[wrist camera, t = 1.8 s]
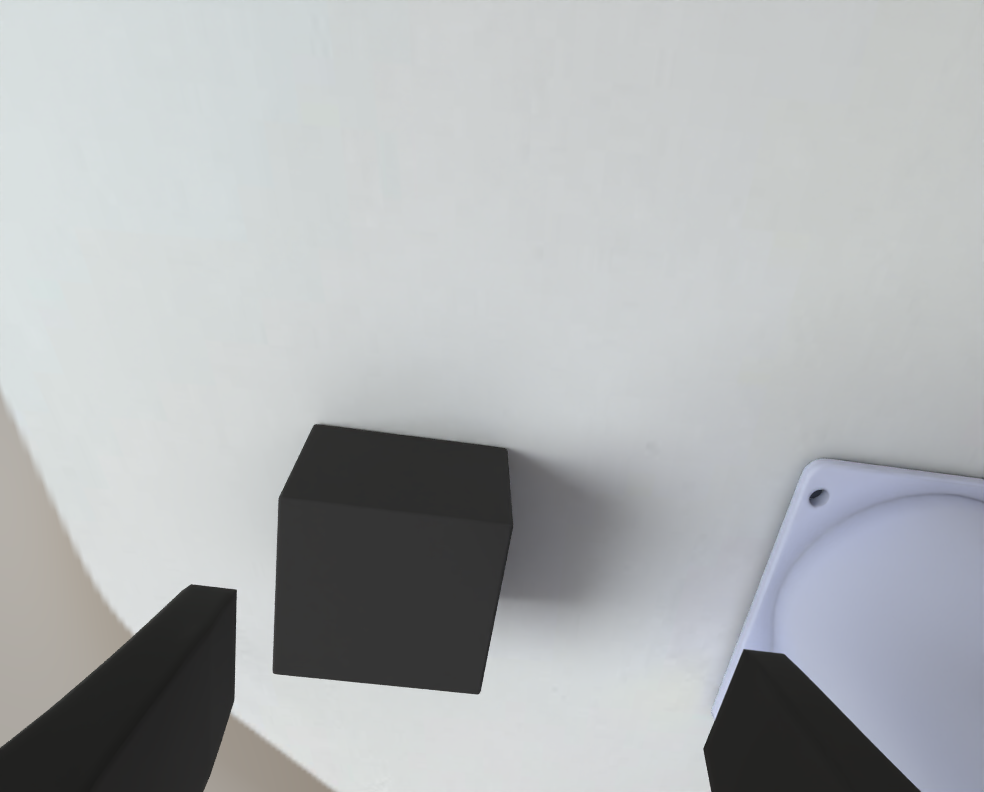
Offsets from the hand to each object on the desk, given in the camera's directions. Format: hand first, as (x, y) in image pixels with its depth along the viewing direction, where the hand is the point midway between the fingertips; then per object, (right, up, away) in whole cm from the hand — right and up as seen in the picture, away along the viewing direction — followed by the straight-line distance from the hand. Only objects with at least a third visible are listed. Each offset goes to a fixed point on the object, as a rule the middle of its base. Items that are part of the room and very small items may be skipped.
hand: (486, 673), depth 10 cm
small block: (-2, +1, +9) cm, 9 cm away
